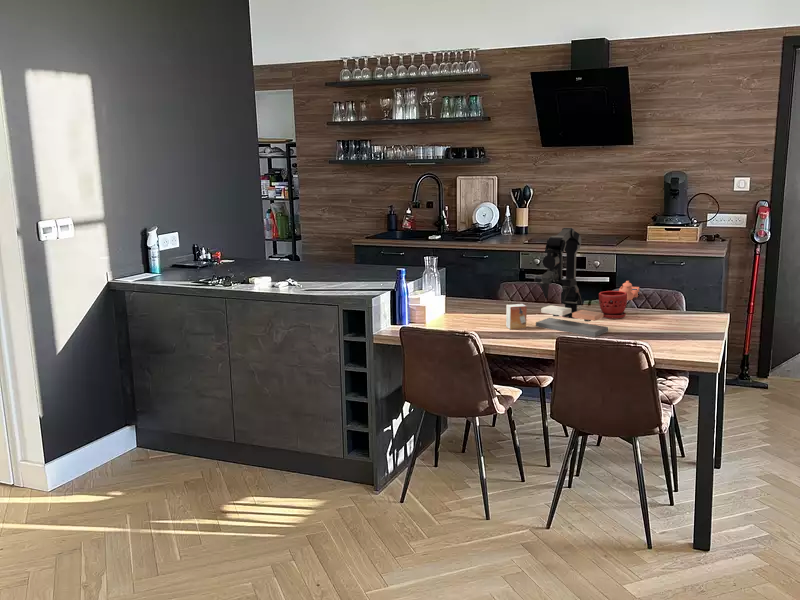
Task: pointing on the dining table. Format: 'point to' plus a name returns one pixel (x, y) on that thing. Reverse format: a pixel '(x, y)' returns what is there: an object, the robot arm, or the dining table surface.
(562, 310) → the cream rectangular block
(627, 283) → the pottery
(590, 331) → the key panel
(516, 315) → the small box
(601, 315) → the terracotta key
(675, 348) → the dining table surface
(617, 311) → the plant pot
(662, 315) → the dining table surface
